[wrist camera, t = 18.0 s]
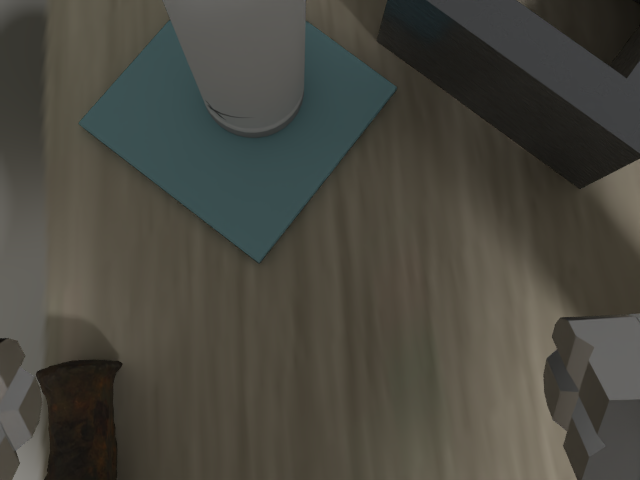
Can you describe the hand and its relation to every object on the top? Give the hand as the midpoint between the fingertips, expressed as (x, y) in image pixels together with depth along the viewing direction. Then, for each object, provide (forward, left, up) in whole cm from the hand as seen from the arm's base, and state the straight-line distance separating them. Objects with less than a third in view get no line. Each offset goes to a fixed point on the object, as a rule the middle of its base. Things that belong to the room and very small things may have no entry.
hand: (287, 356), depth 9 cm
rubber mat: (+12, -9, -26) cm, 30 cm away
